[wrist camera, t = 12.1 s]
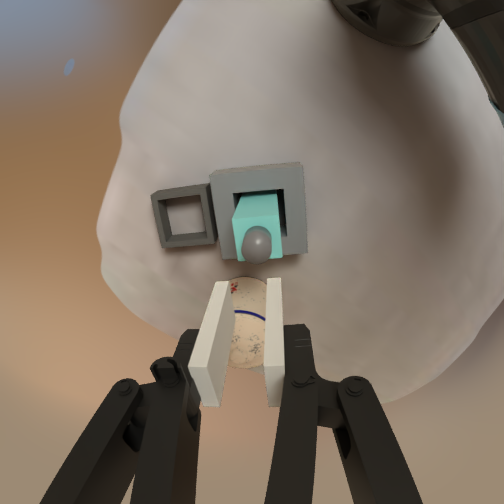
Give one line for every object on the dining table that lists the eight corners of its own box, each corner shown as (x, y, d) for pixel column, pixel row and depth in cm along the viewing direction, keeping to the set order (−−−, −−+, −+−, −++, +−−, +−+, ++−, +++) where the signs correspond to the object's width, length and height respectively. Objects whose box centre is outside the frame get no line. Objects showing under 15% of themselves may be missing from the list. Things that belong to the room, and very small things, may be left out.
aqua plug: (276, 188, 34) (279, 224, 22) (279, 219, 35) (283, 270, 23) (243, 191, 34) (227, 229, 22) (247, 222, 36) (235, 274, 24)
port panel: (299, 162, 32) (303, 166, 29) (304, 240, 36) (307, 253, 33) (216, 170, 33) (209, 175, 30) (227, 246, 37) (222, 259, 34)
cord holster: (209, 183, 34) (205, 187, 32) (218, 236, 37) (214, 243, 35) (157, 190, 35) (150, 195, 32) (168, 240, 38) (162, 248, 35)
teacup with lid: (228, 264, 38) (213, 316, 28) (289, 289, 40) (294, 346, 29) (200, 325, 43) (182, 380, 33) (253, 345, 44) (248, 403, 34)
